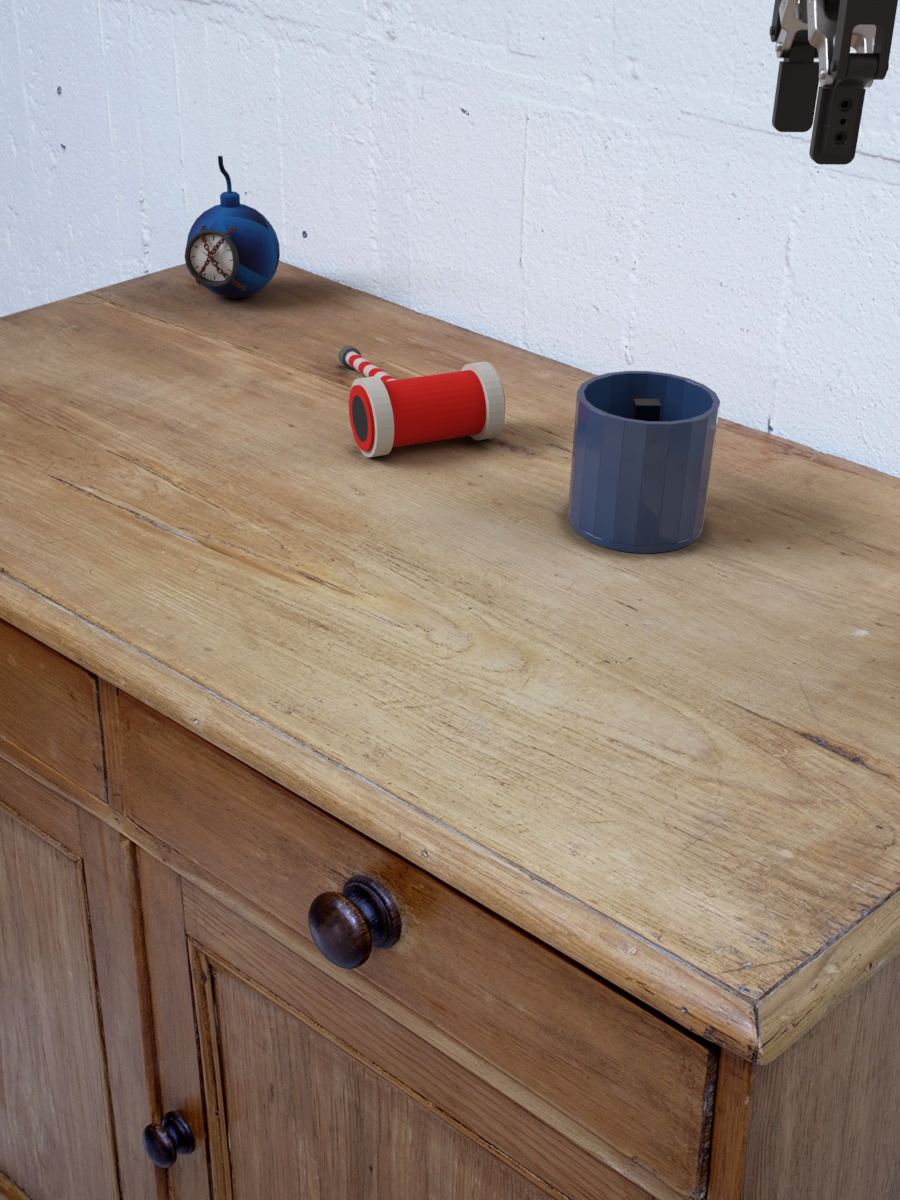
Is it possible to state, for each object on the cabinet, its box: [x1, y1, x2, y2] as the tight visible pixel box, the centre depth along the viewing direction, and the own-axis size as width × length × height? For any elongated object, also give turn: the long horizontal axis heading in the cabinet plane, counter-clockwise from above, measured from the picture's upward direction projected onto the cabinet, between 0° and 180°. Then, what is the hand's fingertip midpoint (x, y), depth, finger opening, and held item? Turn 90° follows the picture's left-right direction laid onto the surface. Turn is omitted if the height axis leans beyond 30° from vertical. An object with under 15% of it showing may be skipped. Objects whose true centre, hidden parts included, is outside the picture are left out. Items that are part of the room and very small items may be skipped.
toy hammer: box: [337, 345, 506, 458], centre depth 114 cm, size 23×12×6 cm, turn 24°
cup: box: [567, 370, 721, 554], centre depth 96 cm, size 10×10×10 cm
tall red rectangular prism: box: [632, 399, 661, 421], centre depth 96 cm, size 3×2×9 cm, turn 92°
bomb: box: [184, 155, 281, 299], centre depth 138 cm, size 10×11×15 cm
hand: (809, 146), depth 72 cm, fingers open, 8 cm apart
